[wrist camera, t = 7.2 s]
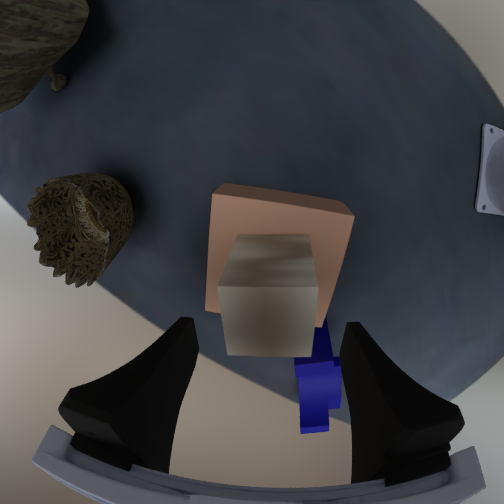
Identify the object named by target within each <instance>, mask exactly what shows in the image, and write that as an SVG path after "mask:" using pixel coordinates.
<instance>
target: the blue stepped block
mask: <svg viewBox="0 0 504 504" xmlns="http://www.w3.org/2000/svg"><path fill="white" fill-rule="evenodd" d="M294 365H295V375H296V377H298V384H299V403H300V430H301V431H300V432H301V434H305V433H316V432H326V431H329V414H328V409H335V408H340V403H341V363H340V356H339V357H333V352H332V347H331V341H330V336H329V330H328V325H327V320H326V316H325V319H324V322H323V325H322V328H321V327H315V328H314V337H313V346H312V353H311V357H294Z"/></svg>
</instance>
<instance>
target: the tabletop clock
mask: <svg viewBox="0 0 504 504" xmlns="http://www.w3.org/2000/svg"><path fill="white" fill-rule="evenodd" d="M89 13H90V8H89V7H88V5H87V1H86V0H0V113H1V112H4V111H6V110H9V109H12V108H13V107H15V106H17V105H18V104H20V103H21V102H23V100H24V99H25V98H26V96H27V95H28V94H29V93H30V91H31V90H32V89H33V88H34V87H35V85H36V84H37V83H38V82H39V81H40V79H41V78H42V77H43V76H44V75H45V74H46V73H47V74H48V75H49V76H50V77H51V78H52V80H51V88H52V89H53V90H54V91H58V90H61V89H62V88H64V86H65V85H66V77H65V76H64V75H63V74H58V75H57V74H56V72H55V70H54V68H53V65H54V64H55V63H56V62H57V61H58V60H59V59H60V58H61V57H62V56H63V55H64V54H65V53H66V52H67V51H68V50H69V49H70V48H71V47H72V46H73V45H74V44H75V43H77V42H78V40H79V37H80V35H81V32H82V30H83V27H84V25H85V23H86V21H87V18H88V15H89Z"/></svg>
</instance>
